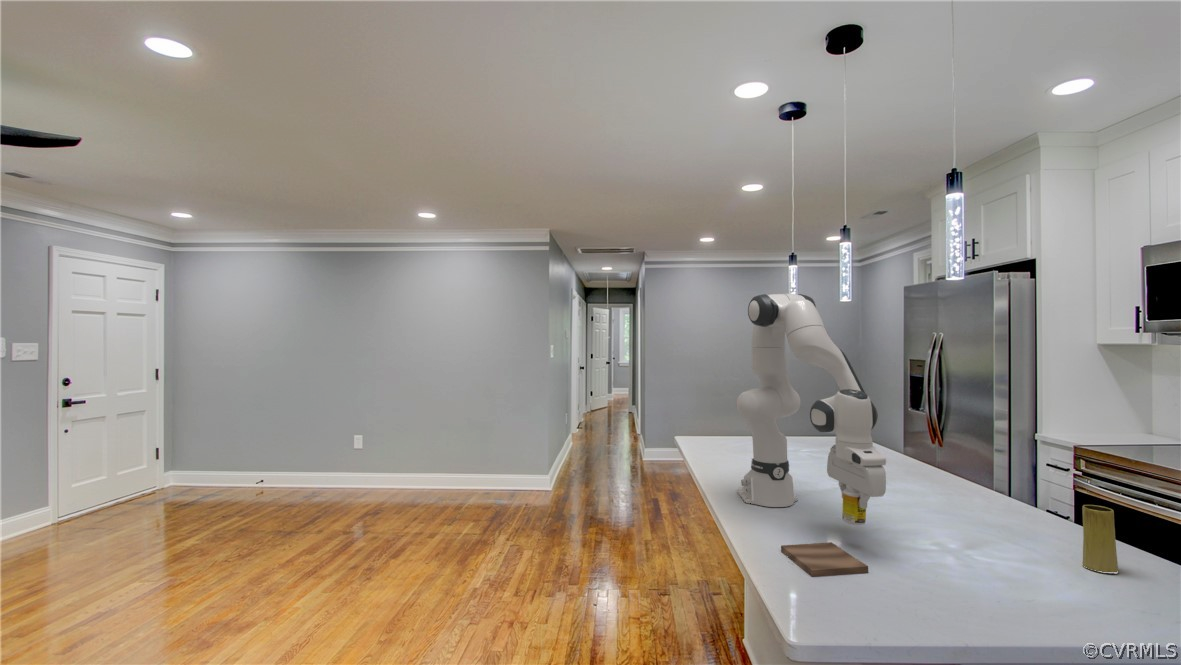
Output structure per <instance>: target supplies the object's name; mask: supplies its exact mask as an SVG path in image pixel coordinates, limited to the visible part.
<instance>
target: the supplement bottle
mask: <svg viewBox="0 0 1181 665" xmlns="http://www.w3.org/2000/svg"><path fill="white" fill-rule="evenodd" d="M860 498H861V495H860V491H858V490H856V489H854V488H852V487H850V486H849V485H846V489H844V490H843V498H842V515H841V516H842V520H843V522H844V523H847V524H849V525H854V526H863V525H865V524H866V521H867V518H866V516H867V508H865V509H862V508H860V507H858V505H857V504H858V503H857V500H860Z"/></svg>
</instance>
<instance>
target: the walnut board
mask: <svg viewBox="0 0 1181 665" xmlns="http://www.w3.org/2000/svg"><path fill="white" fill-rule="evenodd" d="M780 552H781V553H782V554H784V555H785V556H788V557H787V558H789V559H790V560H791V561H792V560H793V561H792V562H793V563H795V564H796V565H797V566H799V567H800V568H801V569H802V570H803V571H804V572H806V573H807V574H808V575H810V576H811V577H814V578H815V577H828V576H841V575H842V576H843V575H856V574H857V575H858V574H868V573H869V566H868V565H867V564H866V563H864V562H862V561H861V560H860V559H858V558H856V557H854V556H853V555H852V554H850V553H848V552H847V551H846V550H844V549H843V548H840V546H838V545H837V544H835V543H834V542H831V541H829V542H828V541H827V542H816V543H801V544H799V543H798V544H787V545H786V544H784V545H780Z"/></svg>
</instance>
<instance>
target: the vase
mask: <svg viewBox="0 0 1181 665" xmlns="http://www.w3.org/2000/svg"><path fill="white" fill-rule="evenodd" d="M1081 507H1082V508H1081V510H1082V534H1083V536H1082V538H1083V543H1082V564H1083V565H1082V564H1081V565H1082V566H1083V567H1084V566H1085V567H1087V568H1089V569H1092V570H1096V571H1102V572H1117V571H1119V572H1120V570H1119V565H1118V563H1119V562H1118V554H1117V553H1118V552H1117V542H1116V528H1115V512H1114V509H1112V508H1109V507H1106V506H1102V505H1095V504H1083V505H1082V506H1081ZM1085 567H1084V568H1085Z"/></svg>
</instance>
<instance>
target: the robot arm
mask: <svg viewBox="0 0 1181 665" xmlns="http://www.w3.org/2000/svg"><path fill="white" fill-rule="evenodd" d="M814 300H815V299H813V298H812V297H811V296H809V295H807V294H801V293H799V294H795V293H788V292H787V293H785V292H784V293H783V292H782V293H773V294H772V293H771V294H765V293H763V294H759V295H755V296H753V297H752V298H751V300H750V302H749V303H748V305H747V306H748V307H747V315H748V319H749V320H750V322H751V323H752V324H753V327H752V333H751V334H752V335H751V370H752V371H753V373H754V374H755V375H757V376H758V378H759V380H760V382H761V387H757V388H750V389H749V390H745V391H742V392H741V393H740V394H739V395H738V397H737V398H736V410H737V412H738V414H739V416H740V417H741V418H742V419H743V420H744V421H745V422H746V423H747V426H748V427H749V430H750V433H751V437H752V438H751V439H752V456H753V458H751V463H750V465H751V466H750V469H749V471H748V472H747V473H746V474H745V475H743V478H742V479H741V481H740V484H741V486H742V487H738V488H736V492H737V491H738V492H737V494H738V493H739V494H740V495H739V494H738V495H739V496H740V498H741V497H742V498H741V500H744V501H743V502H744V503H745V502H746V503H745V504H750V503H751V504H752V505H757V506H762V507H768V508H769V507H770V508H784V507H785V508H786V507H790V506H793V505H794V504H795V502H798V501H799V499H798V496H796V495H795V489H794V488H795V487H794V480H793V476H792V475H791V474H790V473H789V472H790V462H789V460H788V441H787V437H786V435H785V434H784V433H782V432H781V431H780V428H779V427H778V423H777V419H785V418H788V417H790V416H792V415H794V414H796V413H798V411H799V410H800V407H801V397H800V395H799V393H798V392H797V391H796V390H795V389H794V388H793V386H792V385H791V383H790V382H791V381H790V378H789V376H788V372H787V364H786V362H787V361H786V359H787V358H786V338H787V341H788V344H789V348H790V350H791V352H792V353H793V355H794V356H795V357H796V358H798V359H799V360H801V361H803V362H804V363H805V364H810V365H813V366H816V367H818V368H821V369H823V370H826V371H827V372H828V373H829V374H830V375H832V377H833V378H834V380H835V382H836V384H837V386H838V388H839V390H838V391H837V392H836V393H835V394H834V395H833V396H830V397H827V398H823V399H822V398H821V399H818V400H816V401H814V403H813V404H812V405H811V406H810V412H809V418H810V422H811V425H812V426H813V428H814V429H815V430H816V431H818V432H820V433H824V434H834V435H835V444H833V445H832V446H831V447H830V452H829V453H828V455H827V463H826V467H827V468H826V473H827V475H828V477H830V478H831V479H834V480H836V481H838V486H839V489H840V493H841V498H842V499H843V490H844V489H846V485H849V486H850V487H852V488H854V489H856V490H858V491H860V495H861V498H860V500H857V503H858V504H857V505H858V507H860V508H862V509H865V508H866V509H867V508H868V502H869V500H870V498H871V497H872V498H879V497H880V498H881V497H884V495H885V494H886V489H887V473H886V470H885V467H884V466H886V464H887V459H886V457H885V456H884V455H883V454H882V453H881V452H880V451H878V449H876V447H875V446H874V445H873V438H872V430H873V429H874V428H875V426H876V424H877V423H878V418H879V416H878V415H879V414H878V411H877V407H876V406H875V405H874V402H872V400H871V398H870V395H868V394H867V393H866V391H865V389H864V388H863V386H862V384H861V381H860V379H859V378H858V375H857V374H856V372H855V371H854V369H853V366H852V365H851V363H850V360H849V358H848V357H847V355H846V354H845V353H844V351H843V350H842V349H840V348H839V347H838V346H837V345H836V344H835V343H834V342H833V341H832V339H831V337H830V336H829V335H828V333H827V329H826V328H825V325H824V324H825V323H824V321H823V319H822V317H821V315H820V313H819V311H818V310H817V306H816V302H815V301H814Z"/></svg>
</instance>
